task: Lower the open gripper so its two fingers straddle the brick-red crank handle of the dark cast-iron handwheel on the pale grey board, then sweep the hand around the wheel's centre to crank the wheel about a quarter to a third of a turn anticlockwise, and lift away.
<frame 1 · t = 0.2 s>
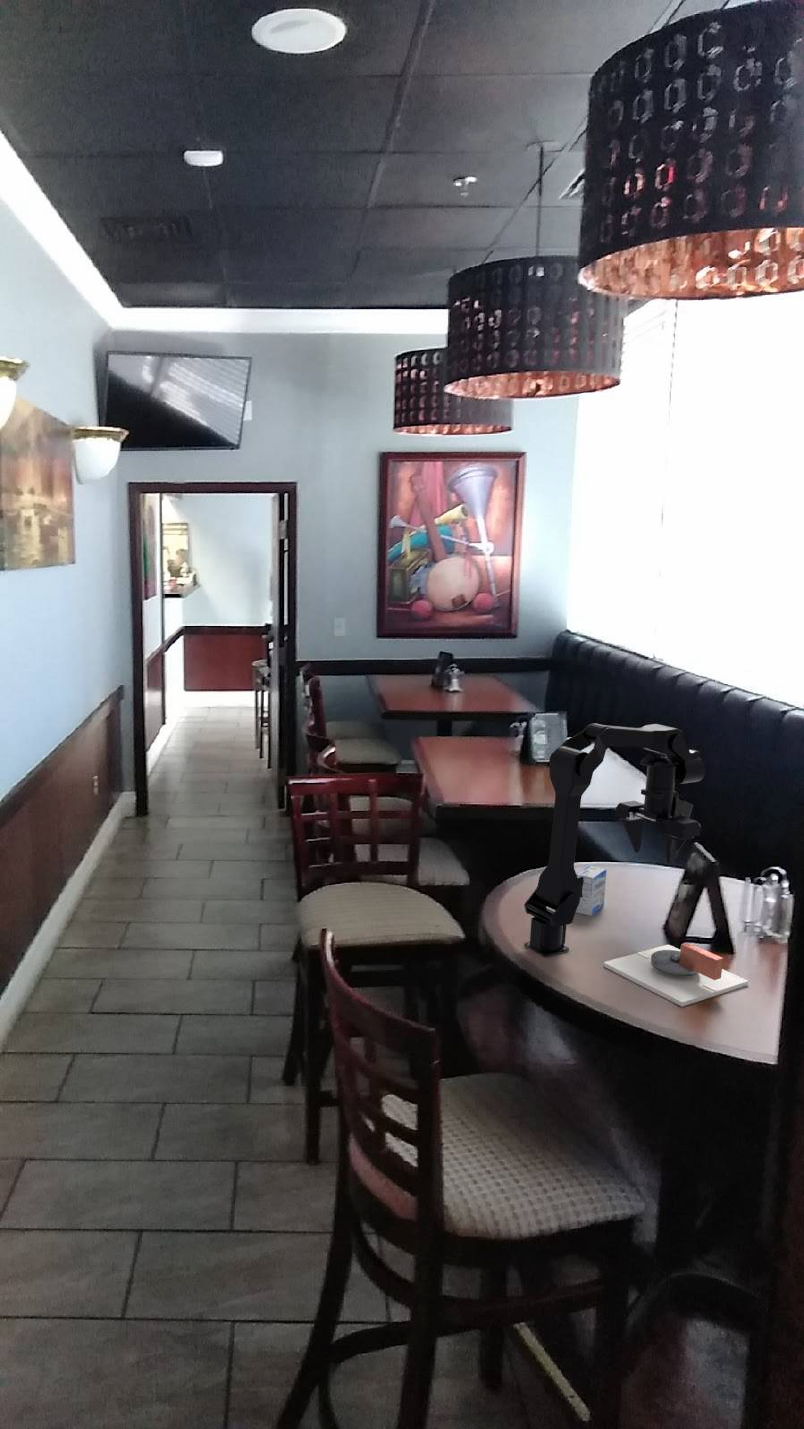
hand: (653, 858, 209), 15 cm above the table, tool pointing down, fingers open, 9 cm apart
wheel board: (674, 975, 186), on the table
medicine box: (588, 910, 219), on the table
handwheel: (687, 958, 184), point 4 cm above the table, hinge at 0.0°
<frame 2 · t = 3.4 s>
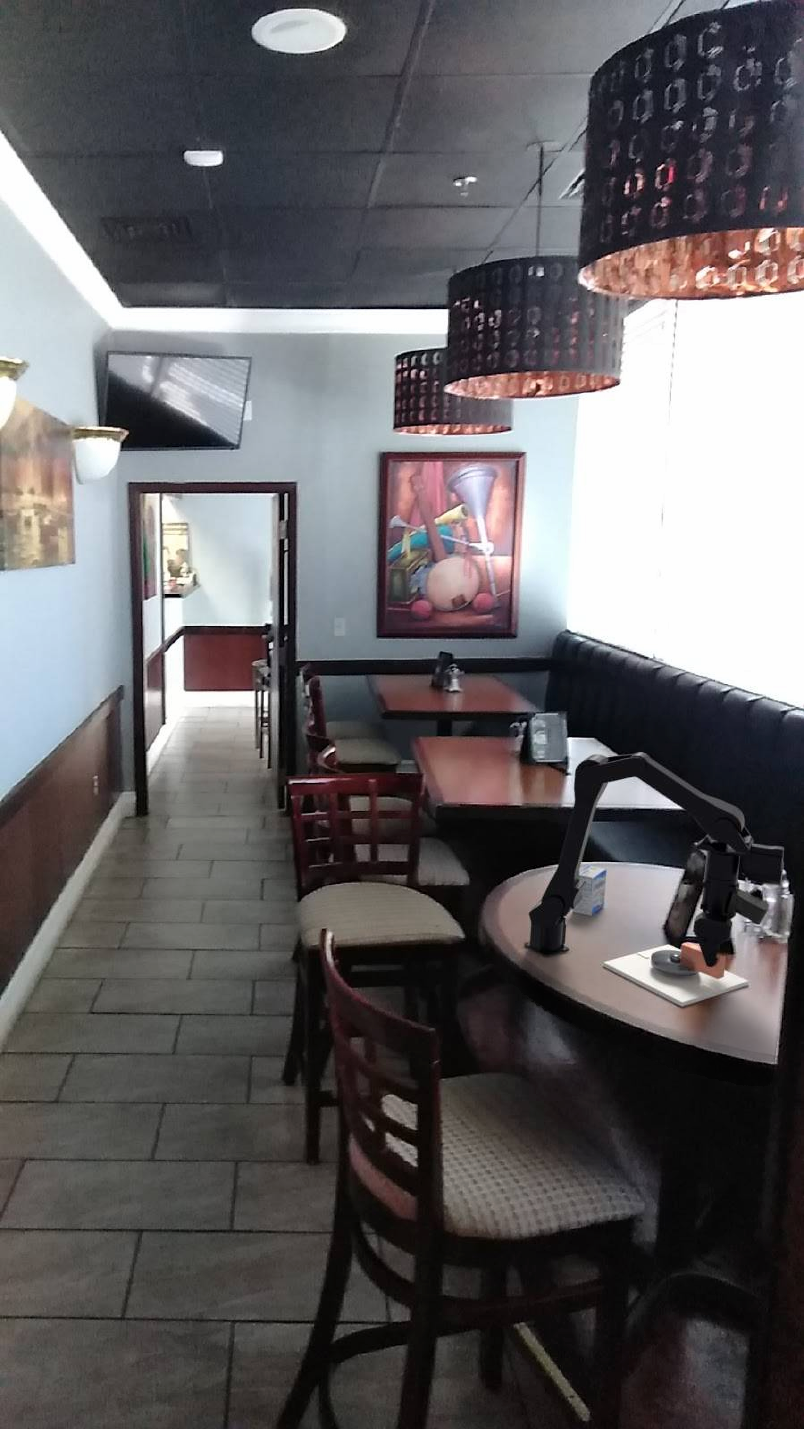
hand: (712, 957, 183), 5 cm above the table, tool pointing down, fingers open, 9 cm apart
handwheel: (688, 957, 184), point 4 cm above the table, hinge at 5.7°, touching gripper
everything else where it was.
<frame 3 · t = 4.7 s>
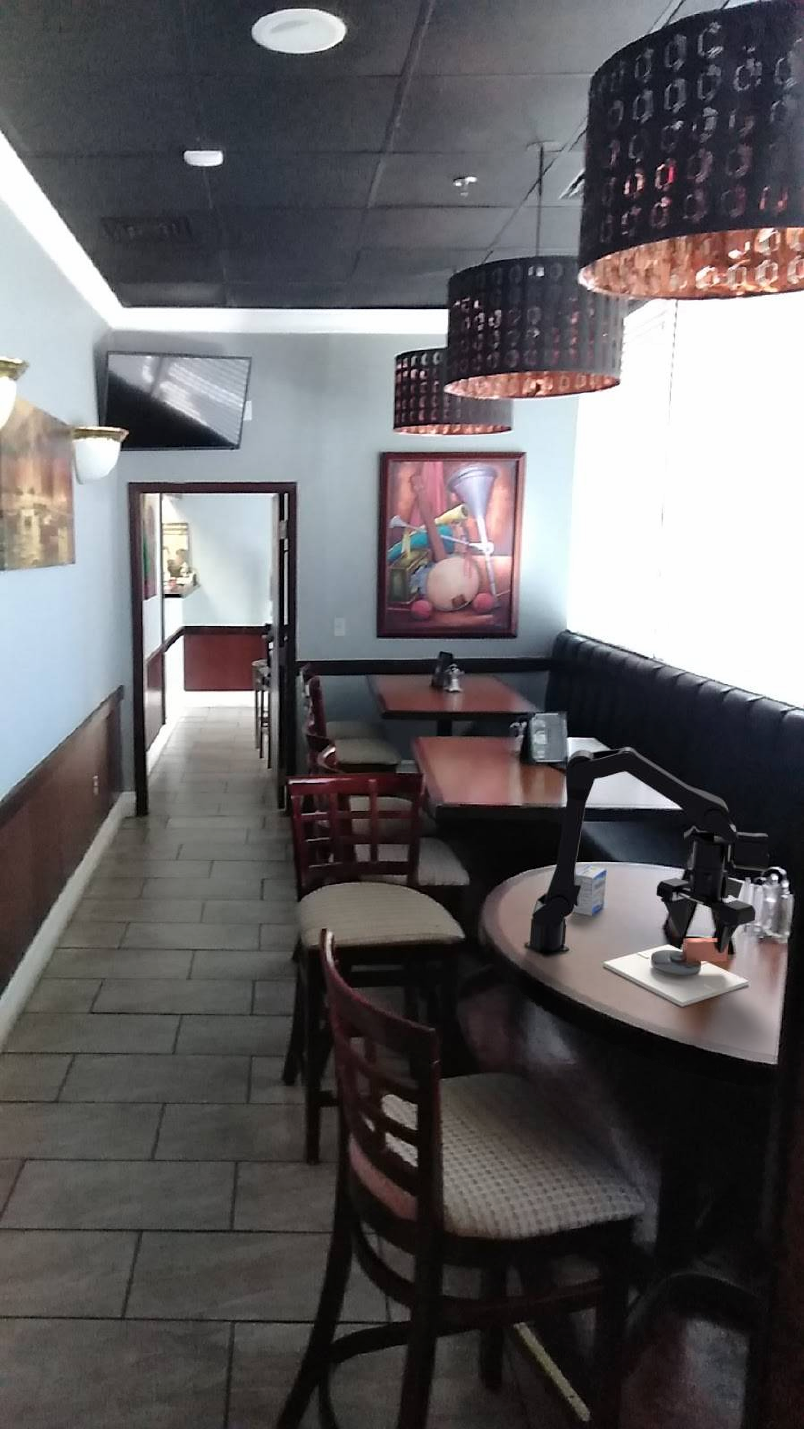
hand: (700, 943, 189), 5 cm above the table, tool pointing down, fingers open, 9 cm apart
handwheel: (689, 953, 186), point 4 cm above the table, hinge at 63.6°, touching gripper
everything else where it was.
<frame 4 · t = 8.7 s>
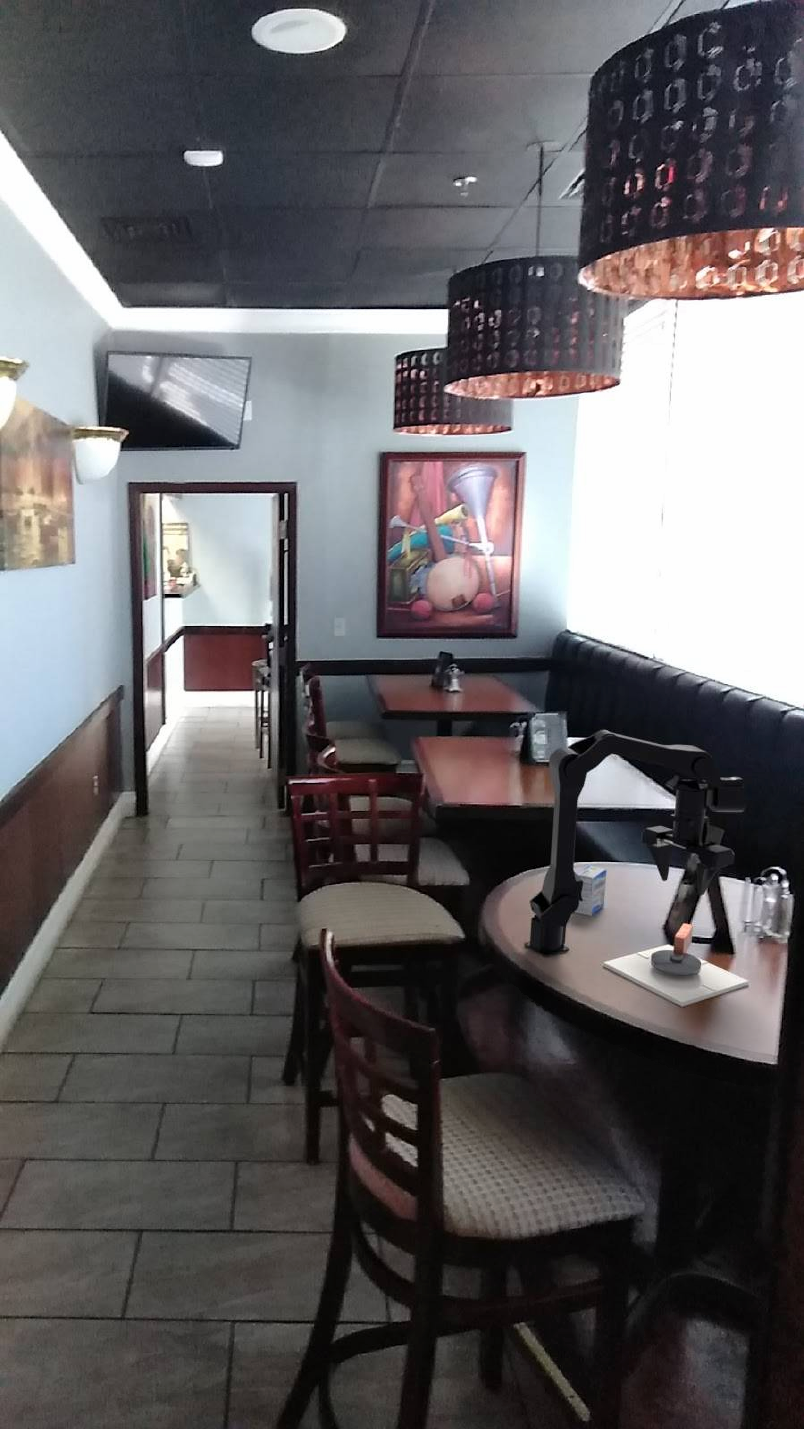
hand: (682, 887, 198), 12 cm above the table, tool pointing down, fingers open, 9 cm apart
handwheel: (679, 948, 188), point 4 cm above the table, hinge at 119.0°
everything else where it was.
at the end: handwheel at +119° (first picture: +0°) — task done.
